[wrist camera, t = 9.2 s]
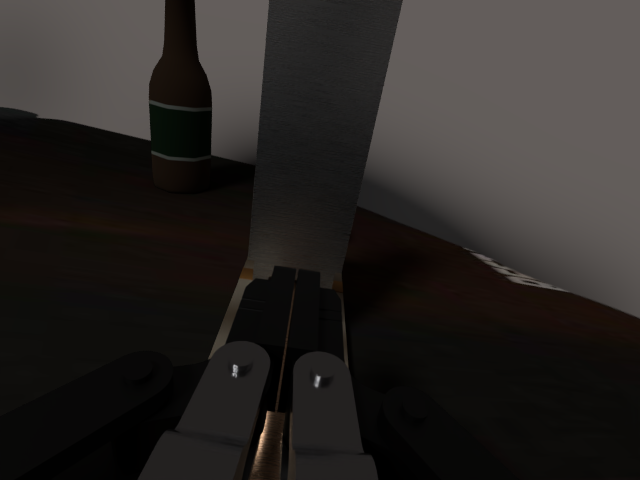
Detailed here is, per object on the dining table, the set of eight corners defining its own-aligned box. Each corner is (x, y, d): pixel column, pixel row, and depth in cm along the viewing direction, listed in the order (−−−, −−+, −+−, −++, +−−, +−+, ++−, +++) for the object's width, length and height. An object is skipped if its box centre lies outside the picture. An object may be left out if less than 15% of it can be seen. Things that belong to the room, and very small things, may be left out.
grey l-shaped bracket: (327, 334, 25) (404, -9, 16) (242, 323, 25) (272, -35, 16) (327, 286, 31) (385, 7, 22) (257, 276, 30) (285, -12, 21)
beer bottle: (163, 197, 45) (155, -36, 34) (143, 177, 50) (130, -33, 39) (221, 191, 50) (229, -15, 39) (197, 173, 55) (199, -15, 44)
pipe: (282, 645, 11) (293, 610, 10) (196, 638, 11) (196, 602, 10) (313, 219, 39) (317, 197, 38) (290, 216, 39) (293, 193, 38)
